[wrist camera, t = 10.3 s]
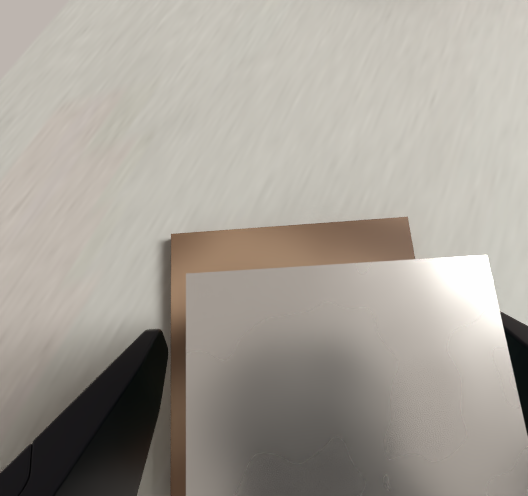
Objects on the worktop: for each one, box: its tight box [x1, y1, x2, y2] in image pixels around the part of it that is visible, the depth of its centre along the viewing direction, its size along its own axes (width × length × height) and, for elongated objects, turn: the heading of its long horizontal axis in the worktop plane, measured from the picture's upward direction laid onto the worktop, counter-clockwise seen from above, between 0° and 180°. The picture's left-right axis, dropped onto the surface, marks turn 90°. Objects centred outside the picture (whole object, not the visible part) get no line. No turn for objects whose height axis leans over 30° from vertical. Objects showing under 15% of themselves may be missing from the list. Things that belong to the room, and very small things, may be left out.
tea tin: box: [186, 255, 528, 496], centre depth 11 cm, size 5×5×12 cm
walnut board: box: [171, 217, 415, 496], centre depth 17 cm, size 14×14×2 cm
